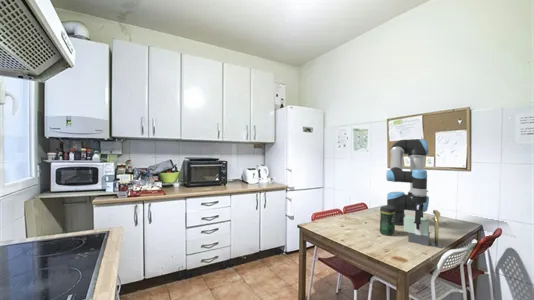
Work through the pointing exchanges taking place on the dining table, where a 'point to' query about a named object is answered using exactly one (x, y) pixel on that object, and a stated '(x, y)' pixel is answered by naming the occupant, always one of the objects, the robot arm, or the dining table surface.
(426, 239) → the block
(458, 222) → the dining table surface
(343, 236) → the dining table surface
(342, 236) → the dining table surface
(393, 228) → the coffee jar
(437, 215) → the t key
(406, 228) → the mint green block
